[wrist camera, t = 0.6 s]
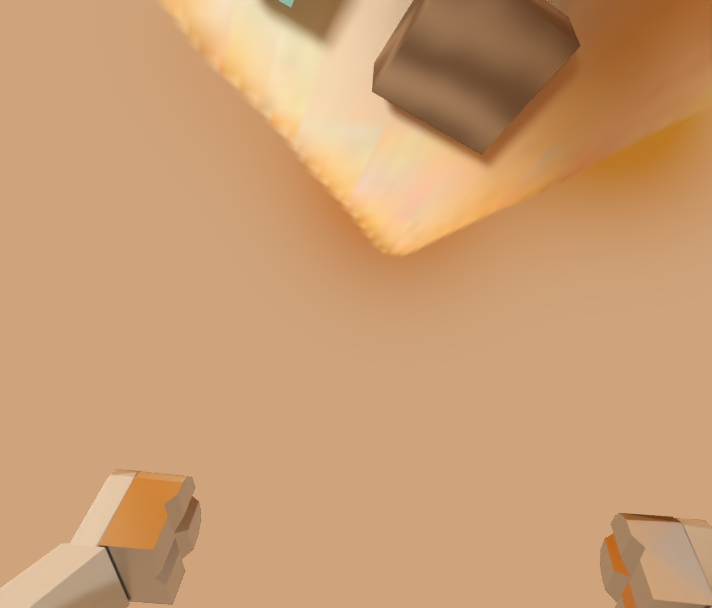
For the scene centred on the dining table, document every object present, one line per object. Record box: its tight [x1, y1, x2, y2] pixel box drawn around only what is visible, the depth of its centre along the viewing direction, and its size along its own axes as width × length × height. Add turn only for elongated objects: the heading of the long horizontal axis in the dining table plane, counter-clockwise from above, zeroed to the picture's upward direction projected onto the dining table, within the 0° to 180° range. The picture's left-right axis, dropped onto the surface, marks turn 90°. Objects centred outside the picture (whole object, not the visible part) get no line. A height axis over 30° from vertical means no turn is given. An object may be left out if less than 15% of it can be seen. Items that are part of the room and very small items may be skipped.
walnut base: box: [372, 0, 580, 155], centre depth 48 cm, size 12×12×5 cm
